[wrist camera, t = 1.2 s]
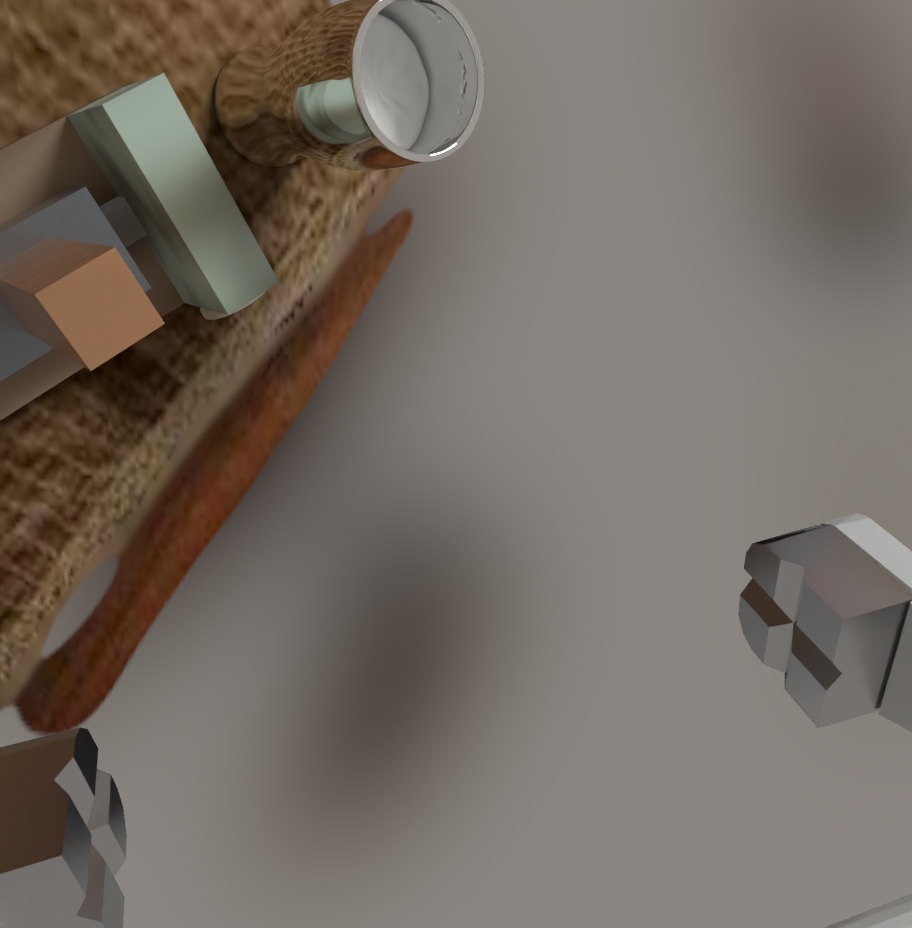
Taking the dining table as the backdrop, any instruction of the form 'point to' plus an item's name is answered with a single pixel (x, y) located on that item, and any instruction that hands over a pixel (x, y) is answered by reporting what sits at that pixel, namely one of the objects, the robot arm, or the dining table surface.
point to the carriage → (68, 285)
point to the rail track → (138, 209)
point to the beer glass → (357, 88)
